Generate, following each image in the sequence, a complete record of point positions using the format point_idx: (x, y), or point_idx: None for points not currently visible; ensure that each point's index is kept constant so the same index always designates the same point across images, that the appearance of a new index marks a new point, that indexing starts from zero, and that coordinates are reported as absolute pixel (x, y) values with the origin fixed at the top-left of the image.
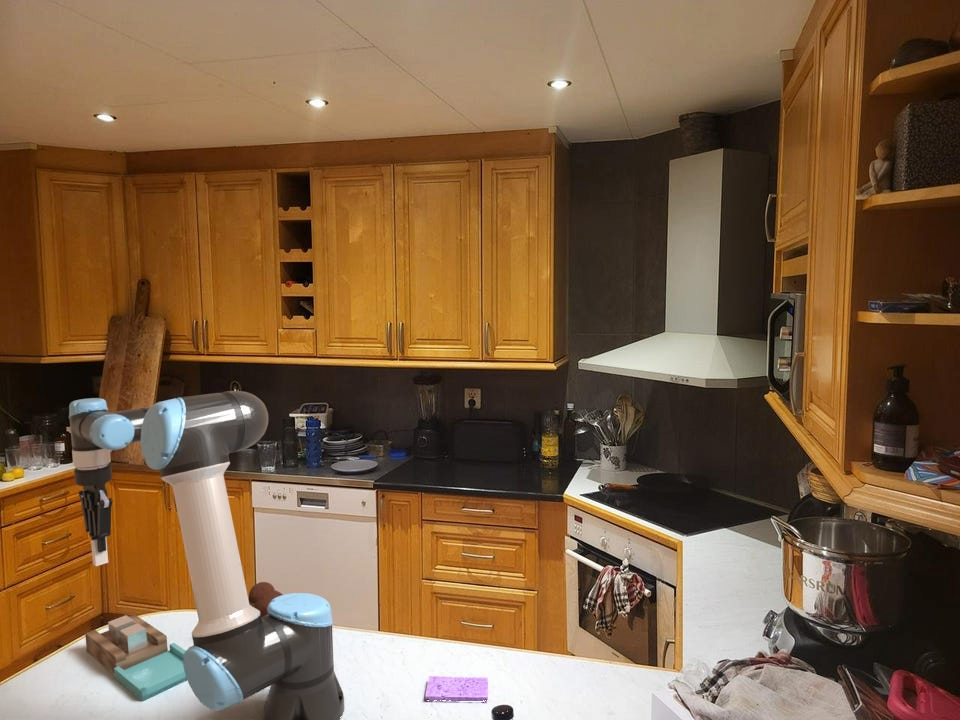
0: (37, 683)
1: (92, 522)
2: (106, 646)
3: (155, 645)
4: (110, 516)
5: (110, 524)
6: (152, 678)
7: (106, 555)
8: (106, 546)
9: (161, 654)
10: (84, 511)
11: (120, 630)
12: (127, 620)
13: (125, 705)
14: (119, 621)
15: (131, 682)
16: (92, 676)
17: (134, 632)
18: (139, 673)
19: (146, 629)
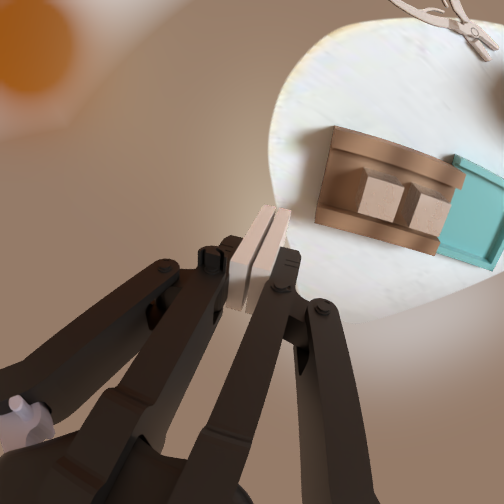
0: (330, 286)
1: (199, 357)
2: (395, 239)
3: (451, 186)
4: (361, 423)
5: (349, 365)
6: (479, 232)
7: (286, 226)
8: (279, 242)
9: None
10: (108, 375)
11: (411, 227)
12: (391, 192)
13: (473, 275)
14: (378, 201)
15: (472, 264)
16: (390, 250)
17: (441, 223)
18: (456, 230)
19: (415, 168)
